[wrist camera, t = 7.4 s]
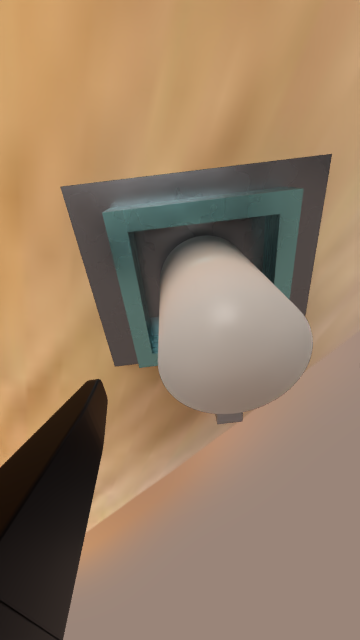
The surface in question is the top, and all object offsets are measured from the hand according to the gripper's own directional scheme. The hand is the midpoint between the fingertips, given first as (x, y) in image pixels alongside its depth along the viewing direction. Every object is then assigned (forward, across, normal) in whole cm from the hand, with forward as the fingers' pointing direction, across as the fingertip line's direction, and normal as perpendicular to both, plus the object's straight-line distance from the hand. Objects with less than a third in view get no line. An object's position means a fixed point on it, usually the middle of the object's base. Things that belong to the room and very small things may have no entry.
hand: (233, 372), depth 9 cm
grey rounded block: (+8, 0, 0) cm, 9 cm away
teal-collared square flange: (+12, 0, 0) cm, 12 cm away
